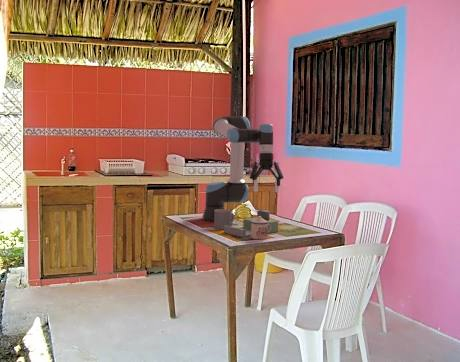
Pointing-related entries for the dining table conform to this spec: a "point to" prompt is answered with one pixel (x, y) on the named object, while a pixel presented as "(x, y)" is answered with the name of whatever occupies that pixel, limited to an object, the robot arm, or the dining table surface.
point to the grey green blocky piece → (247, 225)
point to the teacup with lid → (259, 228)
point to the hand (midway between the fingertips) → (266, 192)
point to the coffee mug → (222, 218)
